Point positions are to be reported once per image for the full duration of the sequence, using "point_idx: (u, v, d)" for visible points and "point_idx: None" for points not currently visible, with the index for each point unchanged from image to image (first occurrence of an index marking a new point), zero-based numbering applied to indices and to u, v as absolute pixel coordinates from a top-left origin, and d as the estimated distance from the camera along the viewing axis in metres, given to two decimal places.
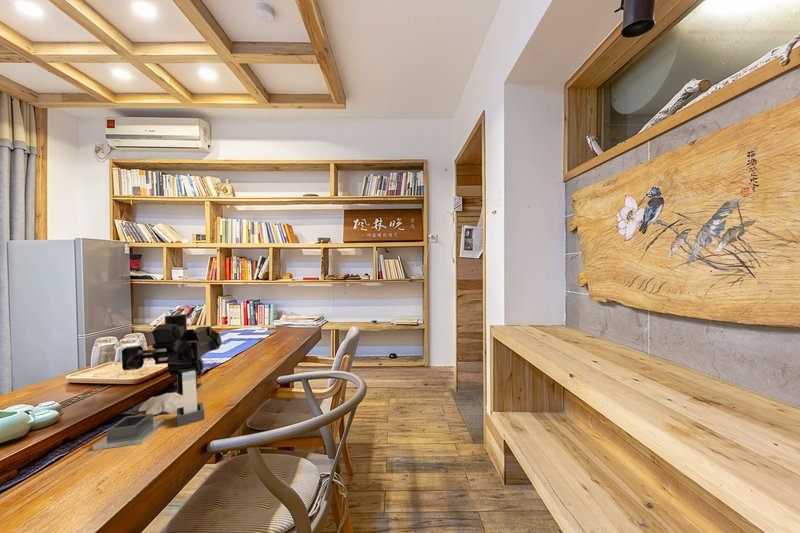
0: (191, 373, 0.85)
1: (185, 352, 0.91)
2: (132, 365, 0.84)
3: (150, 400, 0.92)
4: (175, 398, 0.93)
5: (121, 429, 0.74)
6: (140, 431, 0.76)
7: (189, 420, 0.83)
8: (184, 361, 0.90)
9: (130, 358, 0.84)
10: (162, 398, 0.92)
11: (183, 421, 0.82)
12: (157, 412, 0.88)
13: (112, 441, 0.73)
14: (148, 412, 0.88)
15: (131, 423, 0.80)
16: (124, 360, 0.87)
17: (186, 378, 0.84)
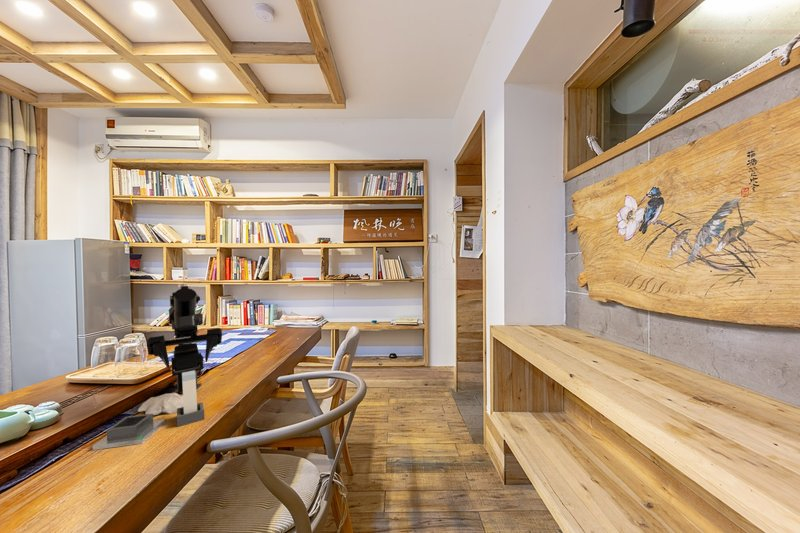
0: (191, 373, 0.85)
1: None
2: None
3: (149, 400, 0.92)
4: (175, 398, 0.93)
5: (121, 429, 0.74)
6: (140, 431, 0.76)
7: (189, 420, 0.83)
8: (211, 348, 0.99)
9: (165, 357, 0.89)
10: (161, 398, 0.92)
11: (183, 421, 0.82)
12: (157, 412, 0.88)
13: (112, 441, 0.73)
14: (148, 412, 0.88)
15: (131, 423, 0.80)
16: (150, 349, 0.90)
17: (186, 378, 0.84)
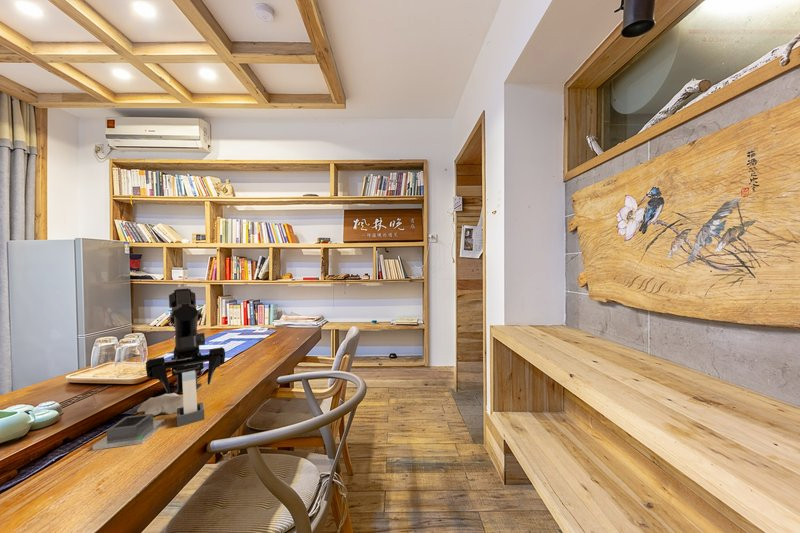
0: (191, 373, 0.85)
1: None
2: None
3: (149, 401, 0.92)
4: (175, 399, 0.93)
5: (121, 429, 0.74)
6: (140, 431, 0.76)
7: (189, 420, 0.83)
8: (214, 368, 0.94)
9: (165, 381, 0.84)
10: (161, 399, 0.92)
11: (183, 421, 0.82)
12: (156, 413, 0.88)
13: (112, 441, 0.73)
14: (147, 413, 0.88)
15: (131, 423, 0.80)
16: (149, 372, 0.85)
17: (186, 378, 0.84)
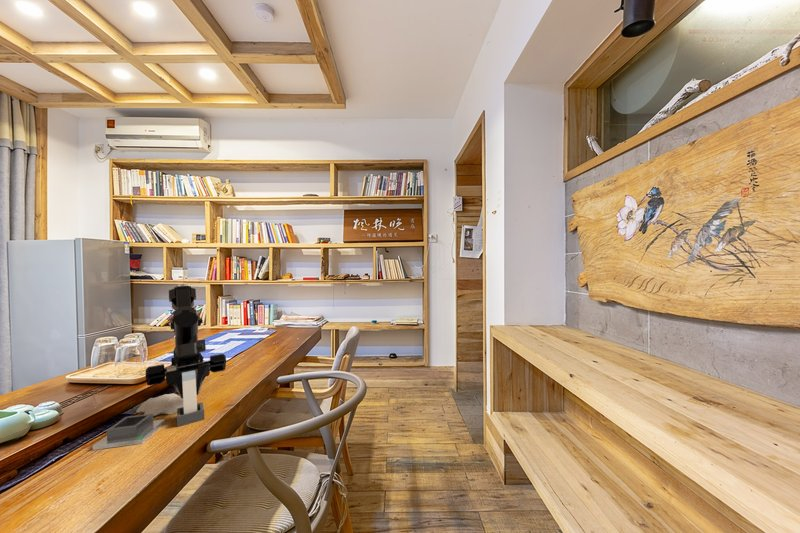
0: (191, 373, 0.85)
1: None
2: None
3: (148, 401, 0.91)
4: (174, 399, 0.92)
5: (121, 429, 0.74)
6: (140, 431, 0.76)
7: (189, 420, 0.83)
8: (203, 378, 0.91)
9: (179, 386, 0.84)
10: (160, 399, 0.92)
11: (183, 421, 0.82)
12: (156, 413, 0.88)
13: (112, 441, 0.73)
14: (147, 413, 0.87)
15: (131, 423, 0.80)
16: (149, 380, 0.84)
17: (186, 378, 0.84)
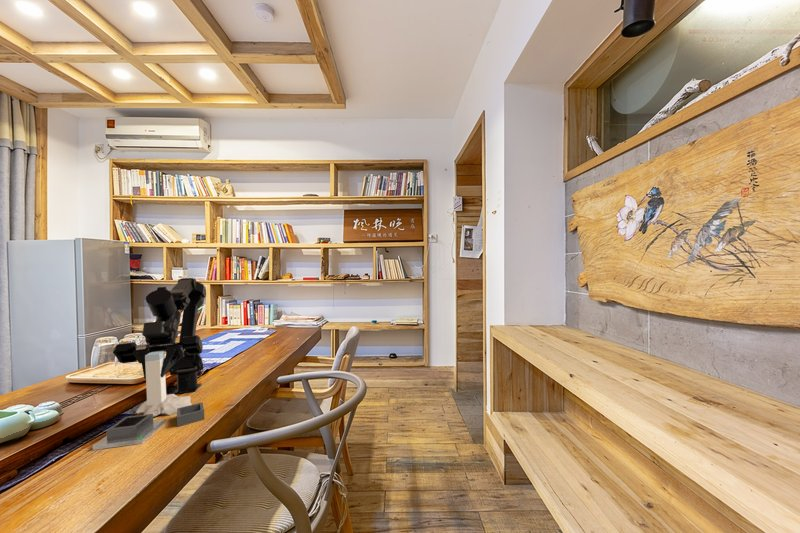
0: (156, 353, 0.80)
1: (175, 352, 0.84)
2: None
3: None
4: (174, 399, 0.92)
5: (121, 429, 0.74)
6: (140, 431, 0.76)
7: (189, 420, 0.83)
8: (176, 359, 0.85)
9: (144, 366, 0.79)
10: None
11: (183, 421, 0.82)
12: (156, 414, 0.87)
13: (112, 441, 0.73)
14: None
15: (131, 423, 0.80)
16: (119, 357, 0.81)
17: (149, 358, 0.78)
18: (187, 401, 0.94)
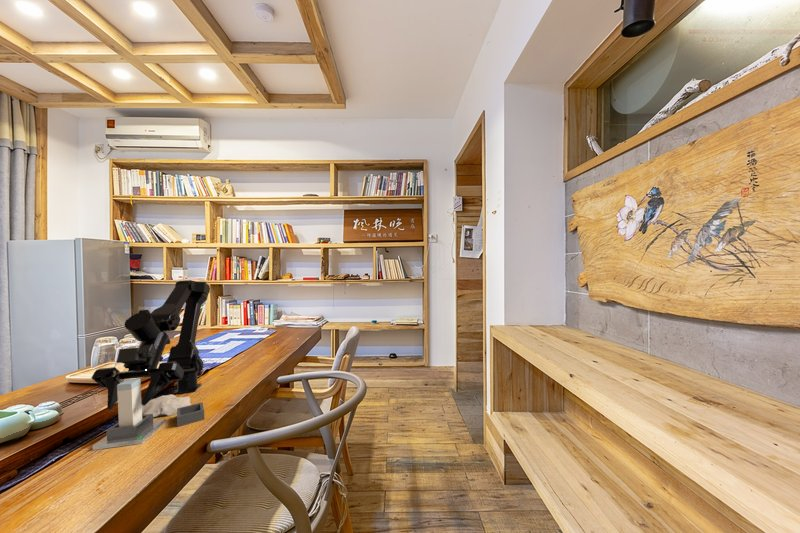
0: (129, 382, 0.77)
1: (160, 378, 0.82)
2: (116, 399, 0.78)
3: (147, 403, 0.90)
4: (173, 400, 0.92)
5: (121, 429, 0.74)
6: (140, 431, 0.76)
7: (189, 420, 0.83)
8: (163, 385, 0.83)
9: (109, 395, 0.77)
10: (159, 400, 0.91)
11: (183, 421, 0.82)
12: (155, 415, 0.87)
13: (112, 441, 0.73)
14: None
15: None
16: (100, 382, 0.80)
17: (121, 388, 0.76)
18: (186, 401, 0.93)
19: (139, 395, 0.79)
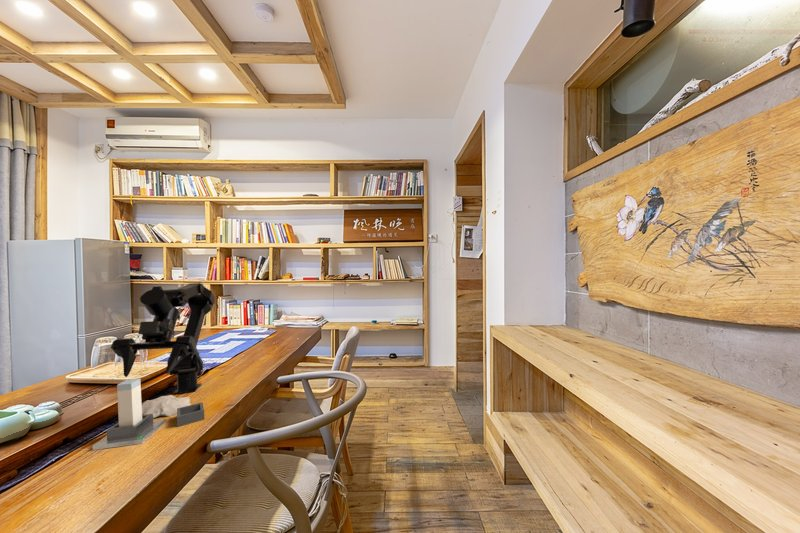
0: (129, 382, 0.77)
1: (181, 350, 0.89)
2: (130, 367, 0.84)
3: (146, 403, 0.90)
4: (173, 400, 0.91)
5: (121, 429, 0.74)
6: (140, 431, 0.76)
7: (189, 420, 0.83)
8: (182, 357, 0.90)
9: (125, 364, 0.82)
10: (158, 401, 0.90)
11: (183, 421, 0.82)
12: (155, 415, 0.86)
13: (112, 441, 0.73)
14: None
15: None
16: (117, 352, 0.85)
17: (121, 388, 0.76)
18: (186, 402, 0.93)
19: (139, 395, 0.79)
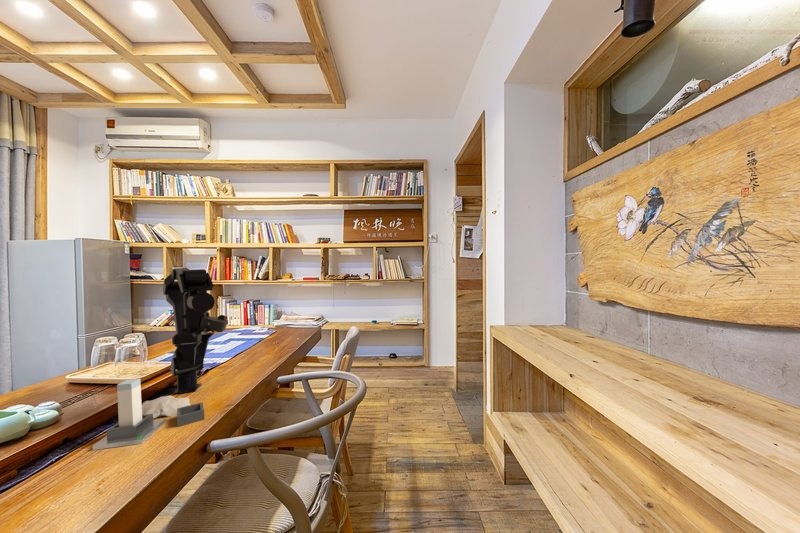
0: (129, 382, 0.77)
1: None
2: None
3: (145, 404, 0.89)
4: (173, 401, 0.91)
5: (121, 429, 0.74)
6: (140, 431, 0.76)
7: (189, 420, 0.83)
8: None
9: (195, 355, 0.91)
10: (158, 401, 0.90)
11: (183, 421, 0.82)
12: (155, 416, 0.86)
13: (112, 441, 0.73)
14: None
15: None
16: None
17: (121, 388, 0.76)
18: (186, 402, 0.93)
19: (139, 395, 0.79)
